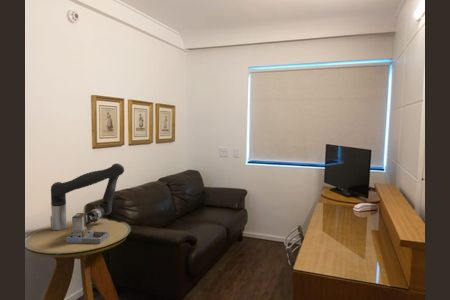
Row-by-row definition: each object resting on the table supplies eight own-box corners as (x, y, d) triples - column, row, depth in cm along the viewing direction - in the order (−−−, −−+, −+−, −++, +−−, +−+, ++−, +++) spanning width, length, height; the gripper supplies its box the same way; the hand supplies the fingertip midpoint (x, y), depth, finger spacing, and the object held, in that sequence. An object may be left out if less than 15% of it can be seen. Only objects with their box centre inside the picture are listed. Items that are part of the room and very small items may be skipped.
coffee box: (78, 236, 203) (77, 212, 202) (88, 236, 204) (87, 212, 202) (72, 241, 194) (71, 216, 193) (82, 241, 195) (82, 216, 193)
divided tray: (66, 242, 193) (66, 235, 192) (77, 235, 206) (77, 229, 205) (100, 243, 191) (100, 237, 191) (109, 236, 204) (109, 230, 204)
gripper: (83, 209, 216) (70, 216, 200) (103, 210, 215) (91, 217, 199) (84, 220, 217) (71, 227, 201) (103, 220, 216) (91, 228, 200)
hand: (81, 222), depth 200 cm, fingers open, 8 cm apart
